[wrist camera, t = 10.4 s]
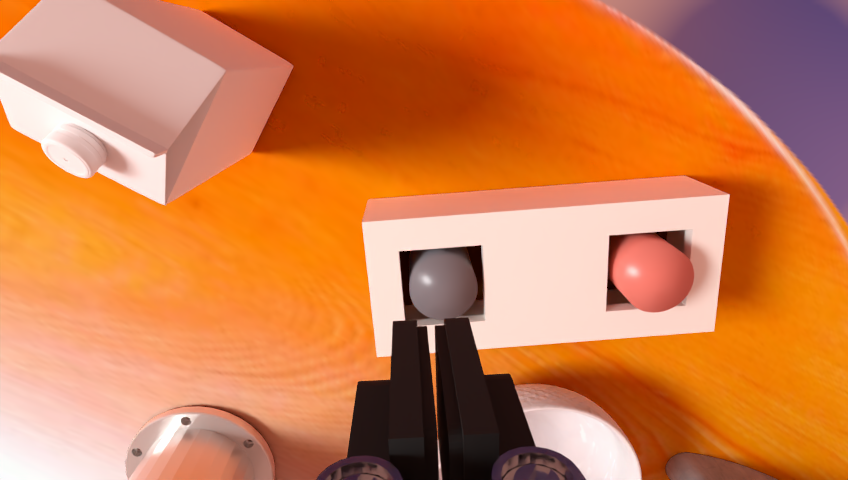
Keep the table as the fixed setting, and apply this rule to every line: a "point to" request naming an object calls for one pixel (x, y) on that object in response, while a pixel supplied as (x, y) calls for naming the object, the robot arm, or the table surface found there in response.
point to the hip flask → (709, 469)
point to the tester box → (549, 257)
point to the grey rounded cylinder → (442, 282)
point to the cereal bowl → (577, 432)
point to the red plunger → (649, 271)
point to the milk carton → (137, 91)
